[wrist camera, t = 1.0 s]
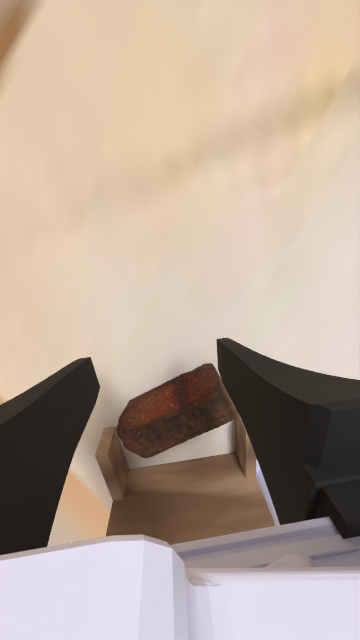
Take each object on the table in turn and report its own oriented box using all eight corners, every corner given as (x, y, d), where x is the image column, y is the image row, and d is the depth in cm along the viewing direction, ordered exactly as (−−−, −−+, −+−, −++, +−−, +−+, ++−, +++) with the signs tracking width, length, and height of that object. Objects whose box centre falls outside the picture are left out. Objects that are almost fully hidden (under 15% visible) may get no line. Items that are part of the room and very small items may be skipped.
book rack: (245, 457, 25) (274, 530, 18) (121, 477, 24) (105, 560, 18) (245, 407, 22) (280, 473, 15) (104, 428, 21) (78, 507, 15)
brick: (209, 357, 20) (222, 387, 15) (224, 384, 21) (240, 419, 17) (122, 401, 21) (111, 441, 16) (142, 424, 22) (136, 467, 18)
